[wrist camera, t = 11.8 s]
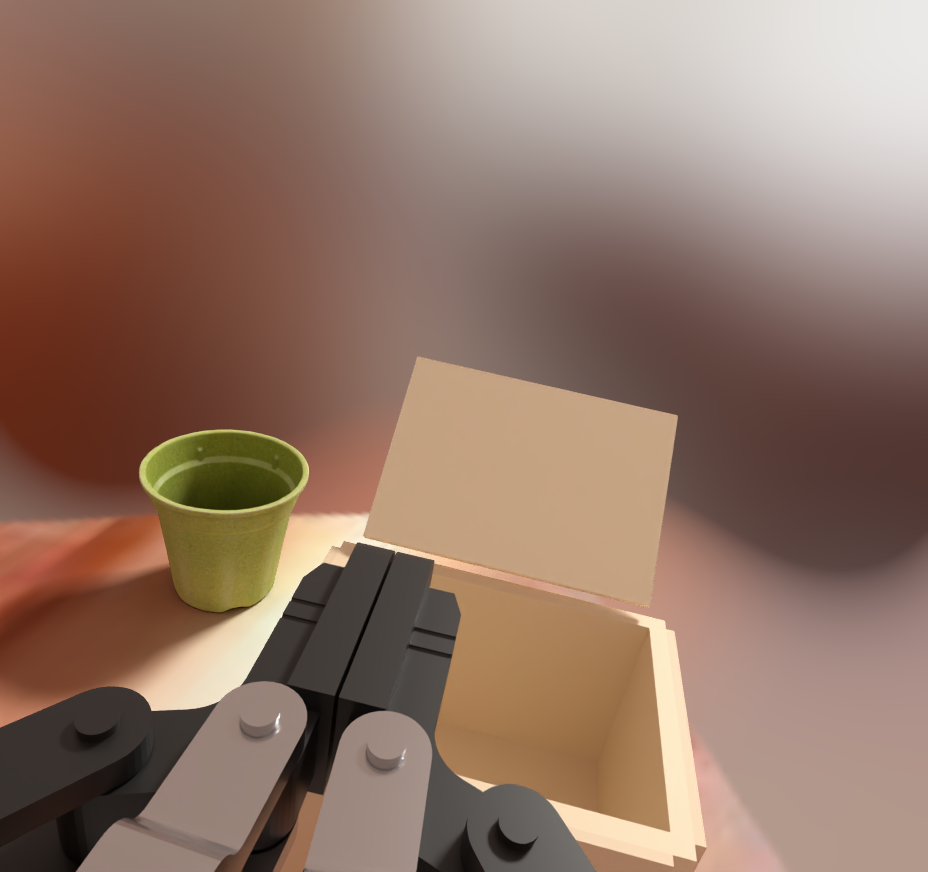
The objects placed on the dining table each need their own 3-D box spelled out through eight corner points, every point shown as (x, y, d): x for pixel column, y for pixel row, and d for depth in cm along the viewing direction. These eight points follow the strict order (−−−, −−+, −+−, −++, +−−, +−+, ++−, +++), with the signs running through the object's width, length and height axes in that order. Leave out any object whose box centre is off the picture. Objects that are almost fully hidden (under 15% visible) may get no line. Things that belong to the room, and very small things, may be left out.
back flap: (363, 535, 34) (417, 356, 38) (364, 537, 35) (417, 360, 38) (649, 605, 33) (677, 415, 37) (647, 607, 34) (675, 419, 37)
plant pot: (255, 653, 41) (262, 530, 37) (110, 606, 42) (101, 482, 38) (322, 561, 49) (333, 453, 45) (199, 524, 50) (199, 416, 46)
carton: (213, 911, 28) (216, 741, 24) (320, 684, 39) (336, 539, 35) (625, 1032, 27) (711, 876, 23) (616, 762, 38) (672, 622, 34)
